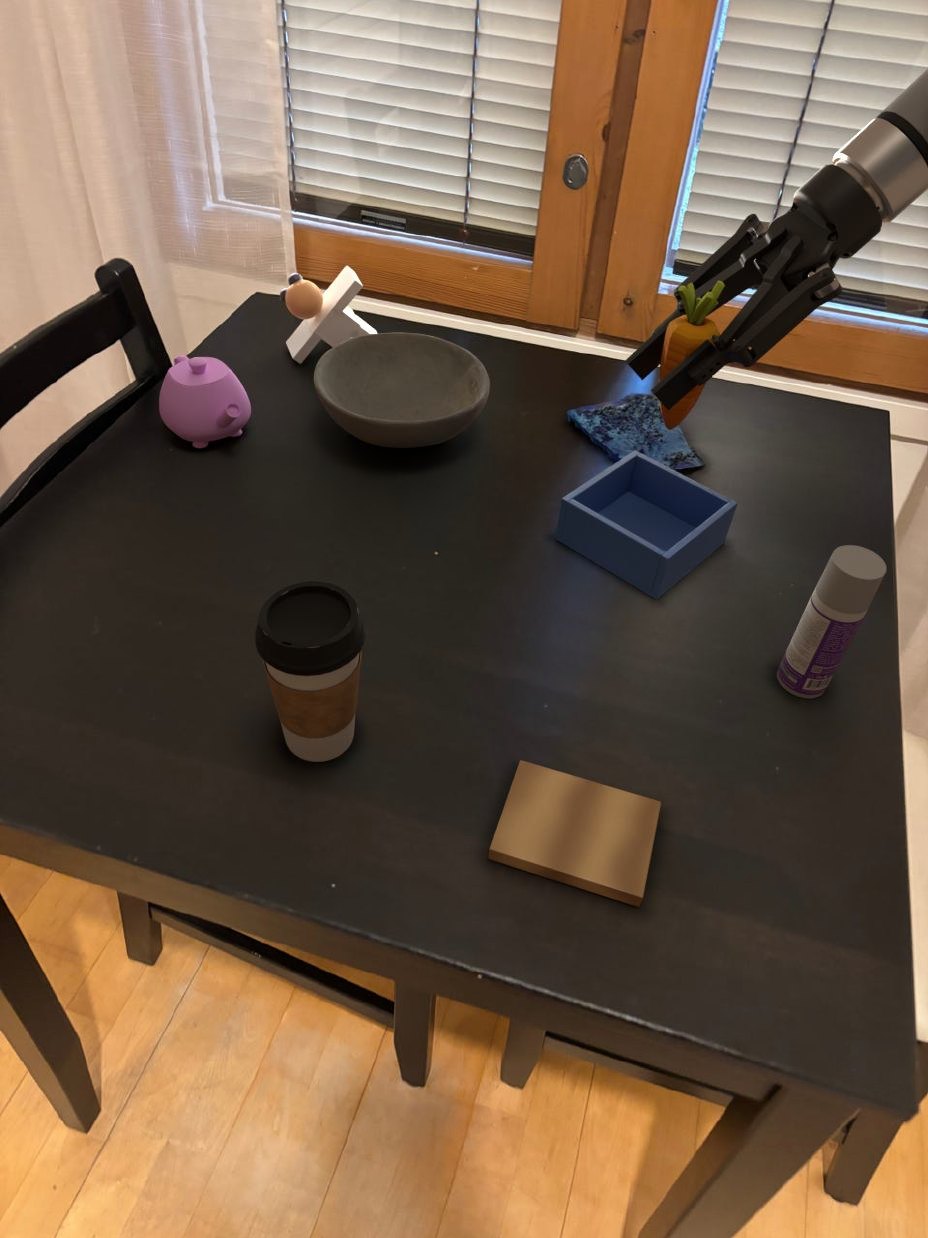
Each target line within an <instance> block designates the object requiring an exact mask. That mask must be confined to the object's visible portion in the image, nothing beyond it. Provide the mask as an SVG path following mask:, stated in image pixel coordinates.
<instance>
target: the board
mask: <svg viewBox="0 0 928 1238" xmlns="http://www.w3.org/2000/svg"><path fill="white" fill-rule="evenodd" d="M661 806H662V802H661V801H659V800H656V799H653V798H651V797H650V798H649V797H646V796H643V795H640V794H636V793H632V792H629V791H626V790H622V789H619V788H616V787H612V786H609V785H606V784H602V783H599V782H595V781H592V780H589V779H586V778H582V777H579V776H576V775H573V774H569V773H567V772H563V771H558V770H556V769H552V768H548V767H545V766H542V765H538V764H535V763H531V762H530V761H529V762H528V761H524V760H521V759H520V760H519V763H518V765H517V768H516V771H515V774H514V777H513V780H512V783H511V786H510V789H509V791H508V794H507V797H506V800H505V802H504V806H503V809H502V811H501V814H500V817H499V820H498V823H497V826H496V829H495V831H494V834H493V838H492V840H491V843H490V846H489V850H488V857H487V859H488V860H490V861H493V862H497V863H500V864H502V865H506V866H508V867H512V868H515V869H519V870H522V871H525V872H528V873H531V874H535V875H537V876H540V877H544V878H547V879H550V880H552V881H556V882H559V883H562V884H565V885H568V886H572V887H574V888H577V889H581V890H584V891H587V892H590V893H593V894H596V895H600V896H602V897H606V898H609V899H612V900H615V901H618V902H621V903H624V904H628V905H630V906H634V907H637V908H640V906H641V904H642V902H643V898H644V894H645V889H646V883H647V879H648V873H649V868H650V864H651V859H652V853H653V848H654V843H655V838H656V834H657V833H656V832H657V827H658V823H659V817H660V812H661Z"/></svg>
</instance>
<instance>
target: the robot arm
mask: <svg viewBox="0 0 928 1238" xmlns="http://www.w3.org/2000/svg"><path fill="white" fill-rule="evenodd" d="M927 190H928V68H927V69H925V70H924V71H923V72H922V73H921V74H920V75H919V76H918V77H917V78H916V79H915V80H914V81H912V83H910V85H908V86H907V87H906V88H905V89H904V90H903V91H902V92H901V93H900V94H899V95H898V96H897V97H896V98H895V99H894V100H892V101H891V102H890V103H889V104H888V105H887V106H886V107H885V108H883V110H882V111H881V112H879V114H878V115H877V116H876V117H875V118H873V119H871V121H870V122H868V123H867V124H866V125H865V126H864V127H863V128H862V129H861V130H860V131H859V132H857V133H856V134H855V135H854V136H853V137H852V138H851V139H850V140H849V141H847V142H846V143H845V144H844V145H843V146H842V147H841V148H840V149H839V150H838V151H837V152H835V153H834V156H833V158H832V163H830V164H829V163H828V164H824V165H823V166H822V167H821V168H819V169H818V170H817V171H816V172H815V173H814V174H813V175H812V176H811V177H810V178H809V179H807V180H806V181H805V182H804V183H803V184H802V185H801V186H800V187H799V188H798V189H797V190H796V191H795V192H794V193H793V198H792V199H793V200H792V204H791V207H790V209H789V210H788V211H786V212H785V213H783V214H781V215H780V216H777V217H775V218H773V219H772V220H771V222H770V221H762V220H760V218H759V217H758V215H757V214H756V213H751V214H749V215H748V216H746V217H745V219H743V221H742V222H741V224H740V225H739V227H738V228H737V230H736V231H735V232H734V234H732V236H730V237H729V238H728V239H727V240H725V242H724V243H723V244H722V245H721V246H720V247H719V248H718V249H716V250H715V251H714V252H713V253H712V254H711V255H710V256H709V257H708V258H707V259H706V260H705V261H704V262H703V263H701V264H700V265H699V266H698V267H697V268H696V269H695V270H693V272H692V273H691V274H689V275H688V276H687V277H686V278H685V279H684V280H683V281H682V282H681V283H680V284H679V285H677V286H676V288H674V290H673V293H672V295H673V296H674V297H675V301H676V308H675V309H674V311H673V312H672V313H670V315H668V317H667V318H665V320H663V321H662V322H660V324H659V325H658V326H657V327H655V329H653V331H652V333H651V336H650V337H648V338H647V340H645V341H644V342H643V343H642V344H641V345H640V346H639V347H638V348H636V350H635V351H634V352H633V353H632V354H630V355H629V356H628V357H627V358H626V359H625V360H624V361H625V363H627V365H628V366H629V368H631V370H632V371H633V372H634V373H635V374H636V375H637V376H638V378H639V379H640V380H641V381H644V380H645V379H646V378H647V377H648V376H649V375H650V374H651V373H653V372H654V371H655V370H656V369H657V368H658V367H660V363H661V357H662V350H663V345H664V340H665V335H666V330H667V327H668V325H669V323H670V322H671V321H673V320H675V319H677V318H679V317H681V316H683V315H686V311H685V308H684V305H683V302H682V299H681V296H680V294H679V292H678V289H679V287H680V286H686V287H687V285H688V284H690V283H693V286H694V289H695V306H696V299H697V298H699V297H700V298H701V299H702V298H703V296H704V295H705V294H706V293H707V292H712V290H713V288H714V287H715V285H716V283H717V282H718V280H719V281H722V282H723V283H724V285H725V286H724V288H723V290H722V292H721V294H720V296H719V297H718V299H717V302H718V304H717V305H716V307H715V308H714V309H713V310H712V311H711V312H710V313H709V314H708V315H707V316H706V317H708V316H709V315H711V314H712V313H715V312H716V311H717V310H719V309H720V308H721V307H723V306H724V305H726V304H727V303H729V302H730V301H732V300H733V299H735V298H736V297H738V296H739V295H741V294H742V293H744V292H745V291H747V290H749V289H751V287H753V286H756V285H757V286H759V287H757V289H756V290H755V291H754V292H753V294H752V295H751V296H750V298H749V299H748V300H747V301H746V303H744V305H743V306H742V308H741V309H740V310H739V311H738V312H737V314H736V315H735V316H734V317H733V319H732V320H731V321H730V322H729V324H728V325H727V326H726V328H725V329H723V331H722V332H721V333H720V336H719V337H718V336H716V335H715V336H714V335H712V337H711V340H712V342H713V343H714V344H715V347H714V346H713V344H712V343H711V342H710V341H709V340H708V339H707V340H706V341H705V342H703V343H702V344H701V345H700V346H699V347H698V348H697V349H696V350H695V351H694V352H692V353H691V354H690V355H689V356H688V357H687V358H686V359H685V360H684V361H682V362H681V363H680V364H679V365H678V366H677V367H676V368H675V369H674V370H672V371H671V372H670V373H669V374H668V375H667V376H666V377H665V378H664V379H663V380H661V381H660V382H659V381H658V383H657V384H656V385H655V386H653V387H652V388H651V390H650V392H651V393H652V394H653V396H655V397H657V398H658V399H659V401H660V402H661V403H662V404H663V405H664V406H665V407H666V409H667V410H668V411H669V410H670V409H671V408H672V407H673V406H674V405H675V404H676V403H678V402H679V401H680V400H681V399H682V398H683V397H684V396H685V395H687V394H688V393H689V392H690V391H691V390H692V389H693V388H695V387H696V386H697V385H698V386H701V385H703V384H705V383H706V384H707V382H708V381H709V380H710V379H712V378H713V377H714V376H715V375H716V374H717V373H718V372H720V371H721V370H722V369H723V368H724V367H725V366H726V365H728V364H732V363H737V364H741V365H742V366H743V368H751V367H752V366H753V365H755V364H756V363H757V362H758V361H760V360H761V358H763V357H764V356H765V355H766V354H767V353H768V352H769V351H771V350H772V349H773V348H774V347H775V346H776V345H777V344H778V343H779V342H781V341H782V340H783V339H784V338H785V337H786V336H787V335H789V334H790V333H791V332H792V331H793V330H794V329H795V328H797V326H799V325H800V324H801V323H802V322H803V321H804V320H805V319H807V318H808V317H809V316H810V315H811V314H813V312H814V311H816V309H818V308H819V307H822V306H823V305H825V304H826V303H828V302H829V301H832V300H834V299H835V298H837V297H839V296H840V295H841V294H842V292H843V286H842V285H841V283H840V281H839V279H838V278H837V276H836V273H835V272H834V270H833V269H834V268H835V267H836V265H837V263H838V262H839V260H840V259H842V260H847V259H851V258H852V257H854V256H855V255H856V254H857V253H858V252H859V251H860V250H861V249H863V248H864V247H865V246H866V245H867V244H868V243H869V242H870V241H871V240H873V239H874V238H875V237H877V236H878V234H880V233H881V231H882V227H883V223H891V222H892V221H893V220H895V219H896V218H897V217H898V216H899V215H900V214H901V213H903V212H904V211H905V210H906V209H907V208H908V207H910V206H911V204H913V203H914V202H915V201H916V200H917V199H918V198H920V197H921V196H922V195H923V194H925V192H927ZM687 289H688V287H687ZM750 348H751V349H750ZM706 384H705V385H706Z"/></svg>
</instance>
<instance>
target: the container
mask: <svg viewBox="0 0 928 1238" xmlns="http://www.w3.org/2000/svg"><path fill="white" fill-rule="evenodd" d="M886 574H887V565H886V563H885V561H884V560H883V559H882V557H881V556H880V555H878V553H876V552H875V551H872V550H870V549H868V548H866V547H863V546H860V545H853V544H847V545H841V546H839V547H836V549H834V550H833V552H832V554H831V555H830V557H829V559H828V562H827V563H826V565H825V568H824V570H823V572H822V573H821V576H820V577H819V580H818V582H817V584H816V586H815V588H814V590H813V592H812V594H811V596H810V598H809V600H808V603H807V604H806V607H805V609H804V611H803V613H802V616H801V618H800V619H799V622H798V624H797V626H796V628H795V630H794V633H793V635H792V637H791V640H790V642H789V644H788V646H787V648H786V651H785V653H784V655H783V657H782V659H781V661H780V664H779V666H778V668H777V671H776V678H777V681H778V683H779V685H780V686H781V687H782V688H783V689H784V690H785V691H787V692H788V693H789V694H791V695H793V696H795V697H798V698H802V699H815V698H818V697H820V696H822V695H823V694H824V693H825V692H826V690H827V688H828V687H829V685H830V682H831V681H832V679H833V677H834V675H835V673H836V671H837V670H838V668H839V666H840V664H841V662H842V660H843V658H844V656H845V655H846V653H847V650H848V648H849V647H850V645H851V643H852V642H853V639H854V637H855V635H856V634H857V632H858V630H859V628H860V627H861V624H862V622H863V620H864V618H865V617H866V615H867V612H868V610H869V608H870V606H871V604H872V602H873V600H874V598H875V596H876V593H877V592H878V589H879V587H880V585H881V584H882V581H883V579H884V577H885V575H886Z"/></svg>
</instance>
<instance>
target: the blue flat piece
mask: <svg viewBox="0 0 928 1238" xmlns="http://www.w3.org/2000/svg"><path fill="white" fill-rule="evenodd" d="M566 415H567V420H568V423H572V422H574V425H575V428H576V429H580V430H582V431H581V432H582V433H583V434H584V435H586V436H587V437H588V438H589V439H590V441H591V442H592V443H593V444H594V445H595V446H596V447H597V446H598V447H600V449H602V450H603V452H606V453H607V454H608V457H609V459H610V460H611V461H614V462H615V463H617V462H618V461H620V460H621V459H623V458H624V457H626V456H627V455H629V454H630V453H632V452H633V451H637V452H639V453H641V454H643V455H645V456H647V457H649V458H651V459H653V460H655V461H657V462H659V463H661V464H663V465H665V466H667V467H669V468H671V469H672V470H674V471H677V470H683V469H690V468H695V467H701V466H705V464H706V461H705V459H704V458H703V457H702V456H701V455H700V454H699V452H697V451H696V450H695V448H694V446H690V445H689V443H688V442H687V441H688V440H687V438H686V436H685V434H684V432H683V431H682V429H681V427H680V424H679V425H678V426H677V427H675V428H674V429H672V430H668V429H667V427H666V426H665V423H664V419H663V416H662V412H661V407H660V401H659V399H658V398H657V397H656V396H655V395H652V394H649V393H642V392H641V393H640V392H631V393H629V394H627V395H625V396H624V397H623V398H620V399H619V400H614V401H613V400H611V401H603V402H599V403H595V404H589V405H585V406H580V407H577V408H571V409H569V410H568V411H567V410H566Z"/></svg>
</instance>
